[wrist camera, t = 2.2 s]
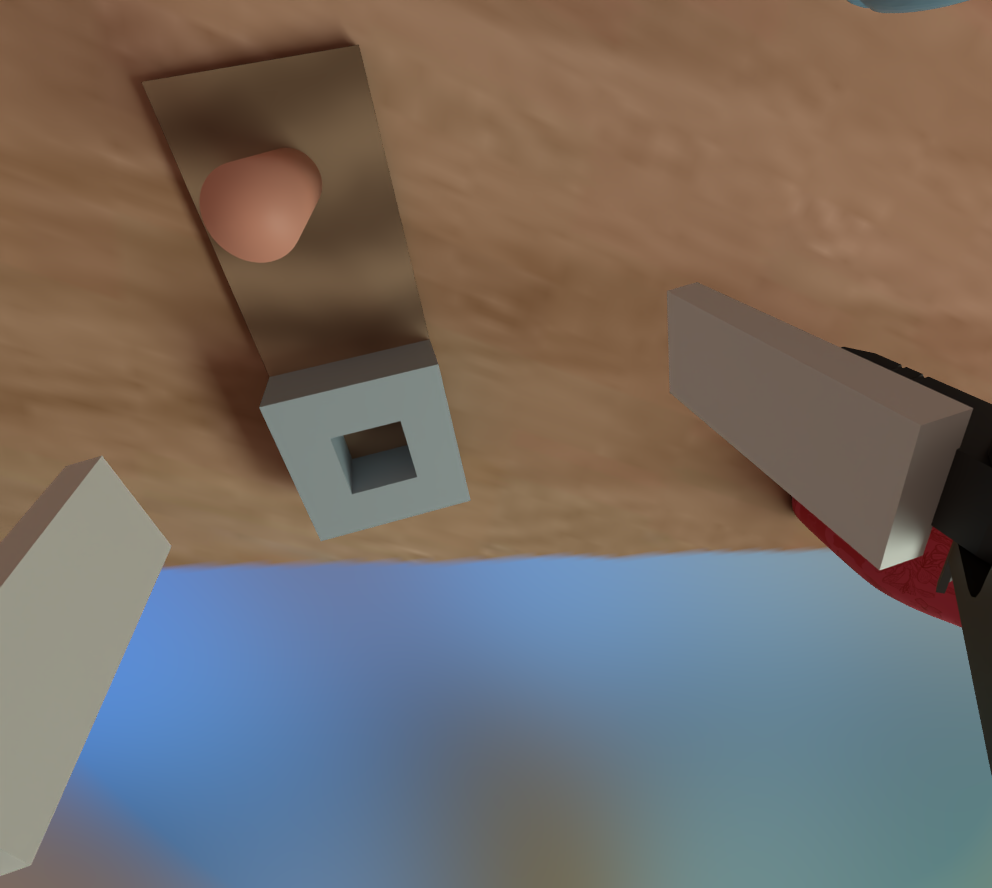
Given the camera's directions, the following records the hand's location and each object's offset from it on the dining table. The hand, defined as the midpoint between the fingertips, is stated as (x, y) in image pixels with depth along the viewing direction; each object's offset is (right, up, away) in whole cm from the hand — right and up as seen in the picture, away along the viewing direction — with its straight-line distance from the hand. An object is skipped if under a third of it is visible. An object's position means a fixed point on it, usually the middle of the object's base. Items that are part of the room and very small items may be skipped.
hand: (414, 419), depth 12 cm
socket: (-8, +1, +31) cm, 32 cm away
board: (-10, +9, +26) cm, 29 cm away
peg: (-11, +16, +20) cm, 28 cm away
